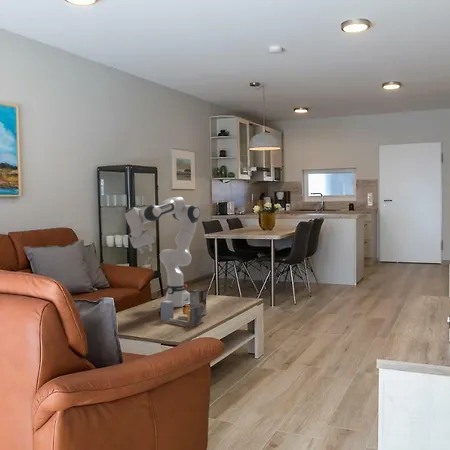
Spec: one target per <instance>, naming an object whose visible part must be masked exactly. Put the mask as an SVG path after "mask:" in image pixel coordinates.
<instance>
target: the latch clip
mask: <svg viewBox="0 0 450 450" xmlns="http://www.w3.org/2000/svg"><path fill="white" fill-rule="evenodd" d="M187 317H188V322H191V310H190V309H188V310H187Z"/></svg>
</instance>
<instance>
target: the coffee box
mask: <svg viewBox="0 0 450 450" xmlns="http://www.w3.org/2000/svg"><path fill="white" fill-rule="evenodd" d="M189 293H190V305H189V310H191V308H194V307H198V306H201V317H202V316H205V315H207V290H206V289H203V288H198V289H196V288H195V289H192V290H189Z"/></svg>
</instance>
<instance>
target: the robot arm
mask: <svg viewBox="0 0 450 450" xmlns="http://www.w3.org/2000/svg"><path fill="white" fill-rule="evenodd" d="M163 215H165V216H172V217H173V219H175V220H177V221H182V224H181V226H180V228H179V229H178V232H177V234H176V236H175V238H174V242H175V244H176V249H173V248H167V249H166V248H165V249H162V250H161V251H160V253H159V260H160V261H161V263H162V264H163V266H164V268H165V271H166V276H167V278H166V279H167V284H166V296H165V300H167V301H172V302H173V308H180V307H182V308H184V307H183V306H184V305H185V304H190V292H189V291H187V290H186V288H188V284H184V273H183V272H182V270H181V269H180V267H187V266H189V265H190V264H191V263H192V255H191V252H190V245H191V243H192V240H193V238H194V236H195V233H196V229H197V221H198V220H199V218H200V215H201V209H200V208H199V206H198V205H193V204H192V205H191V204H186V201H185V199H184V198H183V197H182V196H174V197H173V196H172V197H170V198H166V199H164V200H163V201H162V202H161V203H160V205H154V204H151V205H149V206H147V207H143V208H137V207H136V206H132V207H129V208H128V209H126V211H124V217H125V220H126V222H127V224H128V226H129V229H130V233H129V234H128V236H127V237H128V238H129V241H130V244H131V246H132V248H134V249H137V250H138V251H139V252H140V253H141V254H144V253H145V250H143V247H146V246H148V251H149V252H152V251H153V243H155V238H154V236H153V235H152V233H151V232H150V230H147V229H146V228H145V224H148V223H151V222H155V221H157V220H159V219H160V218H161V216H163Z"/></svg>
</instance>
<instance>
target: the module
mask: <svg viewBox="0 0 450 450" xmlns="http://www.w3.org/2000/svg"><path fill="white" fill-rule="evenodd" d="M170 318H172V319H174V307H173V302H172V301H167V300H166V299H165V300H163V301H161V302H160V321H164V322H166V321H169V319H170Z"/></svg>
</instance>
